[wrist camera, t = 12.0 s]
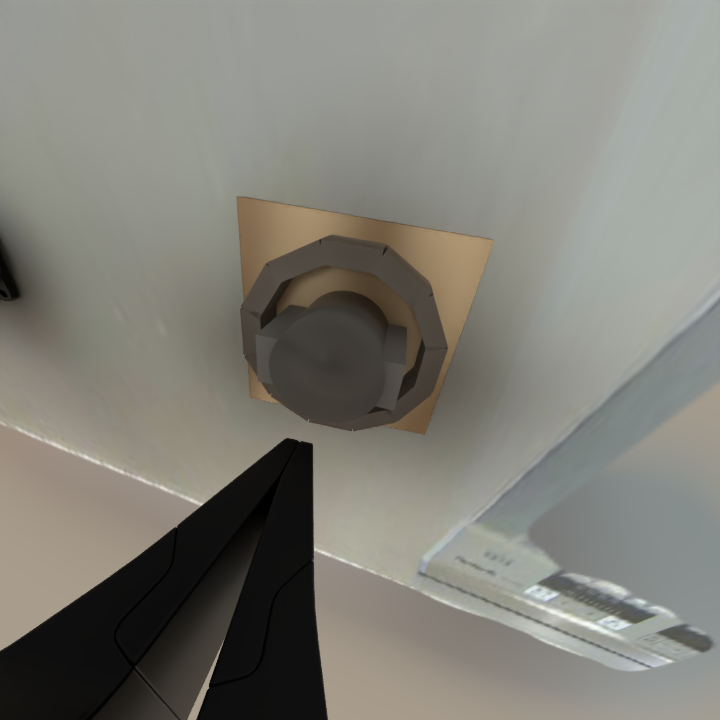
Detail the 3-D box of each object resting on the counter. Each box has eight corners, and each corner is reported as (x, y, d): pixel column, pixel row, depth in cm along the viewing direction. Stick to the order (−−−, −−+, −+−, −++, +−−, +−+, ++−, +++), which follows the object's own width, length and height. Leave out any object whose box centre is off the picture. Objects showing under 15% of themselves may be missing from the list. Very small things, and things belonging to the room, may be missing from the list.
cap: (289, 360, 17) (255, 406, 13) (291, 279, 15) (250, 307, 11) (392, 382, 17) (388, 435, 13) (412, 303, 14) (414, 340, 11)
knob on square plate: (254, 392, 20) (234, 416, 17) (243, 196, 14) (210, 195, 11) (424, 428, 19) (426, 458, 17) (490, 239, 13) (508, 247, 11)
